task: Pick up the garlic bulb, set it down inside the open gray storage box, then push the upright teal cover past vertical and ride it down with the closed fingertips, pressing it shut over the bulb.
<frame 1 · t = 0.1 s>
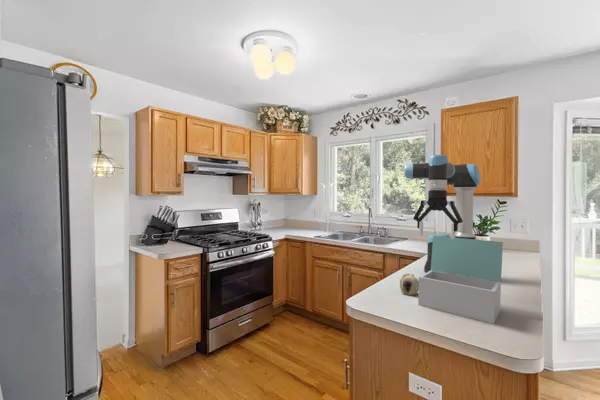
hand: (436, 237, 130), 28 cm above the table, fingers open, 13 cm apart
cover: (464, 256, 128), point 20 cm above the table, hinge at 100.0°
gray storage box: (458, 307, 121), on the table
garlic bulb: (409, 294, 138), on the table
coffee can: (445, 290, 143), on the table
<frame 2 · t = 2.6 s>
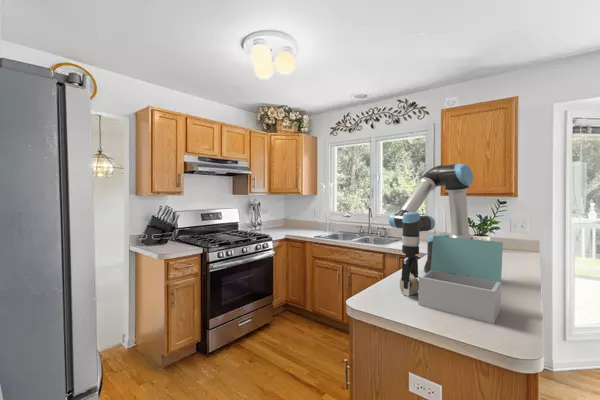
hand: (409, 293, 138), 0 cm above the table, fingers open, 8 cm apart
garlic bulb: (409, 294, 138), on the table, touching gripper
everything else where it was.
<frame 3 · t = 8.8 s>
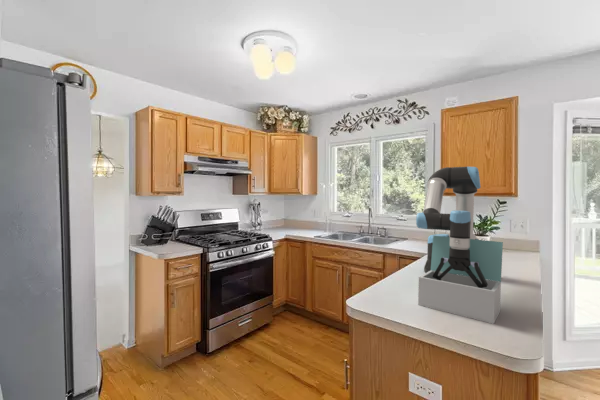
hand: (458, 299, 121), 4 cm above the table, fingers open, 13 cm apart
garlic bulb: (458, 308, 121), on the table
everything else where it was.
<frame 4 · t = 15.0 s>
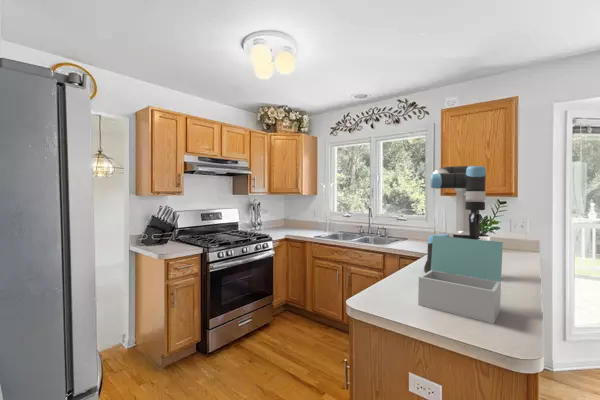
hand: (474, 253, 130), 21 cm above the table, fingers closed
cover: (464, 256, 128), point 20 cm above the table, hinge at 98.8°, touching gripper
everything else where it was.
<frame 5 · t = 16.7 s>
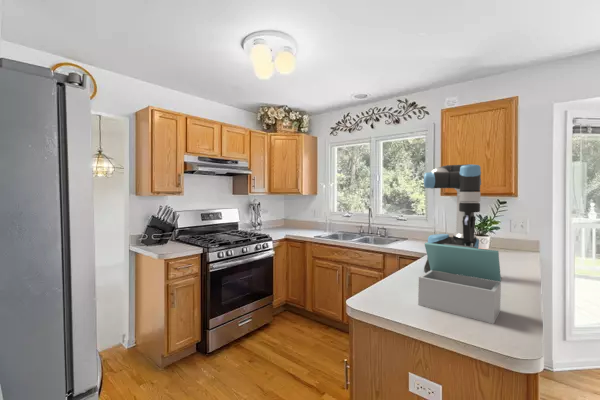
hand: (468, 258, 122), 20 cm above the table, fingers closed
cover: (461, 260, 123), point 19 cm above the table, hinge at 55.1°, touching gripper
everything else where it was.
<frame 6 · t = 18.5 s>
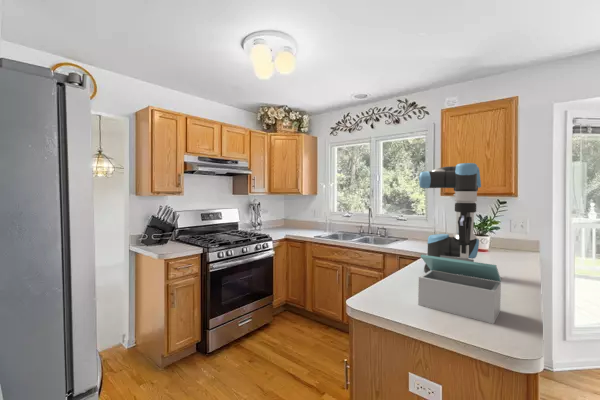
hand: (464, 261, 116), 20 cm above the table, fingers closed
cover: (459, 266, 122), point 17 cm above the table, hinge at 31.0°, touching gripper
everything else where it was.
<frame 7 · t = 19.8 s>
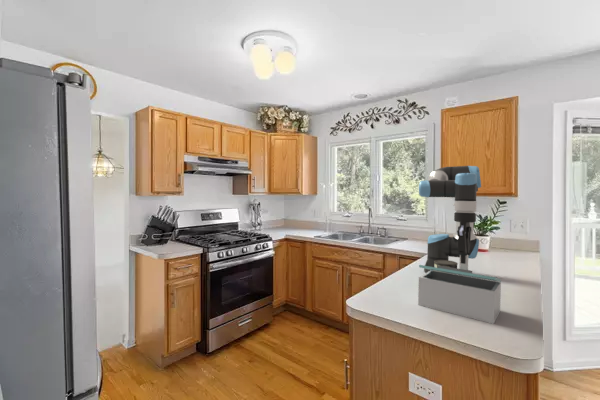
hand: (463, 271, 116), 17 cm above the table, fingers closed
cover: (459, 271, 121), point 15 cm above the table, hinge at 14.5°, touching gripper
everything else where it was.
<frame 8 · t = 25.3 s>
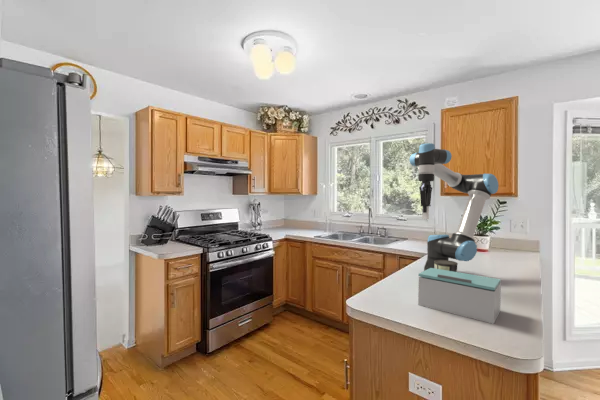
hand: (425, 218, 152), 34 cm above the table, fingers closed
cover: (458, 276, 120), point 13 cm above the table, hinge at 1.2°
everything else where it was.
at the end: garlic bulb inside the target area on the gray storage box (0.0 cm from its centre), point 0.0 cm above the gray storage box's base; cover at +1° (first picture: +100°); the gripper is holding nothing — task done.
